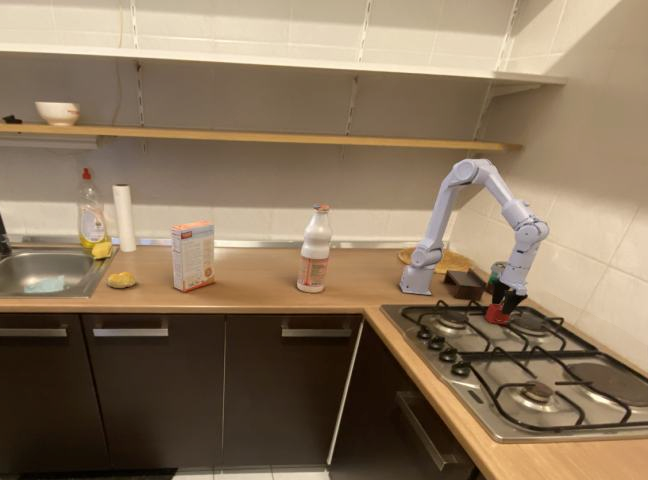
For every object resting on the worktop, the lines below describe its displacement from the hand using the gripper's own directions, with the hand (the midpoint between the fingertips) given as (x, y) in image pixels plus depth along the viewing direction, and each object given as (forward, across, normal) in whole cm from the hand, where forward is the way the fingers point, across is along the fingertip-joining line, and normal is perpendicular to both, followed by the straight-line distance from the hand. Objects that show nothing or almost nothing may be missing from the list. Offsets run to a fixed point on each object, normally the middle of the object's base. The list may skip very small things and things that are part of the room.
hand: (500, 308), depth 116 cm
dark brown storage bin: (+4, +24, +3) cm, 25 cm away
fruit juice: (+4, +11, +57) cm, 58 cm away
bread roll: (+4, -4, +121) cm, 121 cm away
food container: (+4, +28, -9) cm, 30 cm away
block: (+4, 0, 0) cm, 4 cm away
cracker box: (+4, +2, +97) cm, 97 cm away
